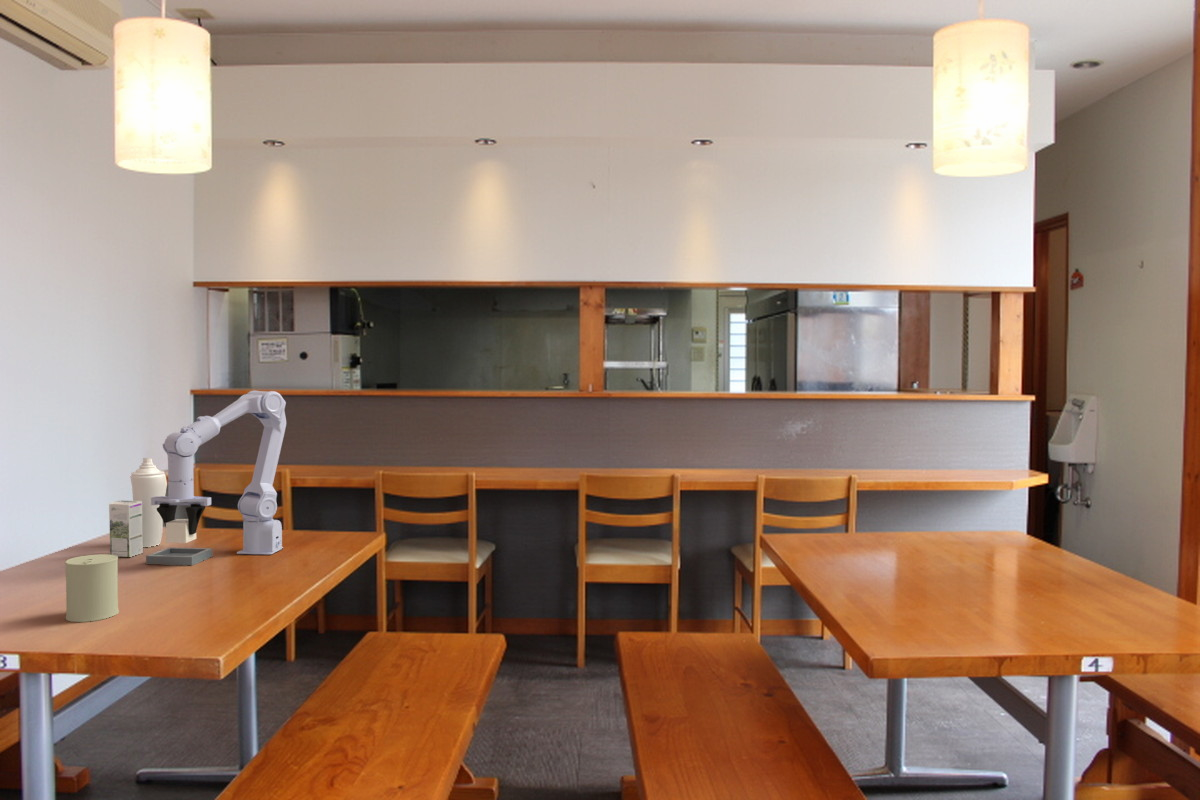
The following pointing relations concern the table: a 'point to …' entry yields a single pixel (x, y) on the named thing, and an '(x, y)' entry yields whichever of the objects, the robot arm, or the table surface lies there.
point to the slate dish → (179, 556)
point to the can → (91, 587)
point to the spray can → (149, 500)
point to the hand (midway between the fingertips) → (181, 533)
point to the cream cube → (178, 531)
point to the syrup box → (125, 528)
